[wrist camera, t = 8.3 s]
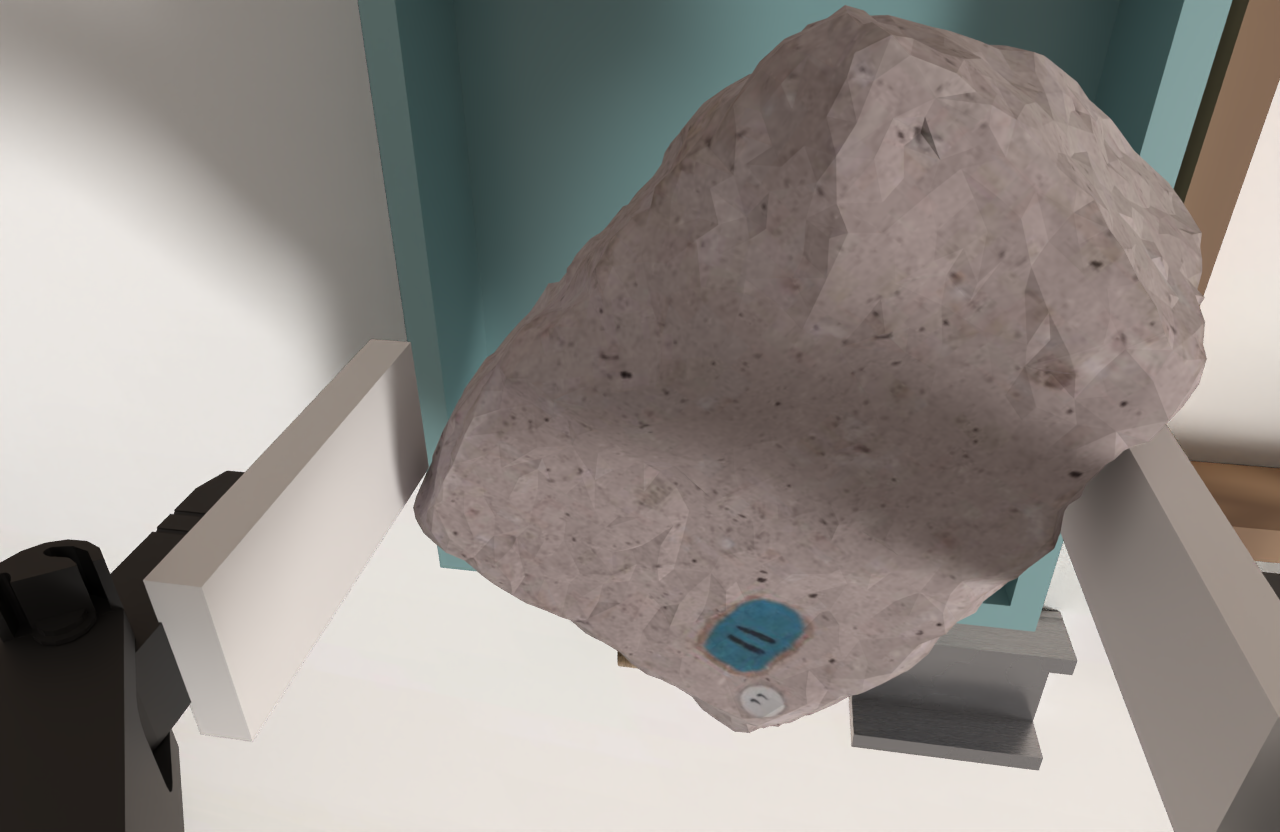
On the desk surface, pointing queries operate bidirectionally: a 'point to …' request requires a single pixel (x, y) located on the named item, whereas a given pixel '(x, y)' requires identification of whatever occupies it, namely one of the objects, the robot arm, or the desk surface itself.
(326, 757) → the desk surface
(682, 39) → the bin
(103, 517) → the desk surface
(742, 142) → the stone
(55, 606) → the robot arm
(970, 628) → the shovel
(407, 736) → the desk surface
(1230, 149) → the frame
